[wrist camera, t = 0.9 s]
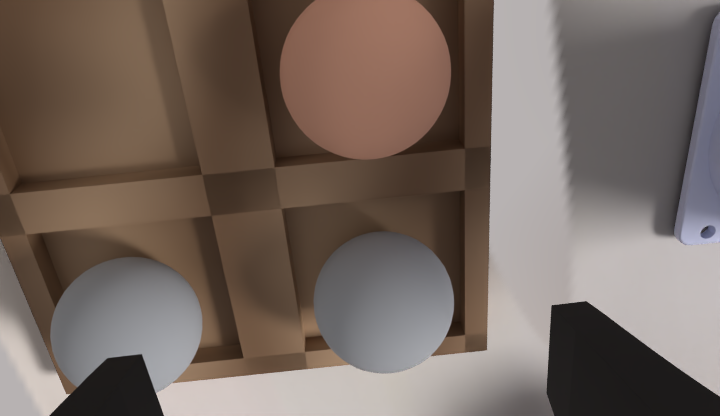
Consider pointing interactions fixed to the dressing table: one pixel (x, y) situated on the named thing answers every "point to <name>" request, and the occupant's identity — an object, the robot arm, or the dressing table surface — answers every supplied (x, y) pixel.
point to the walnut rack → (223, 169)
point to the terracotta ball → (365, 75)
